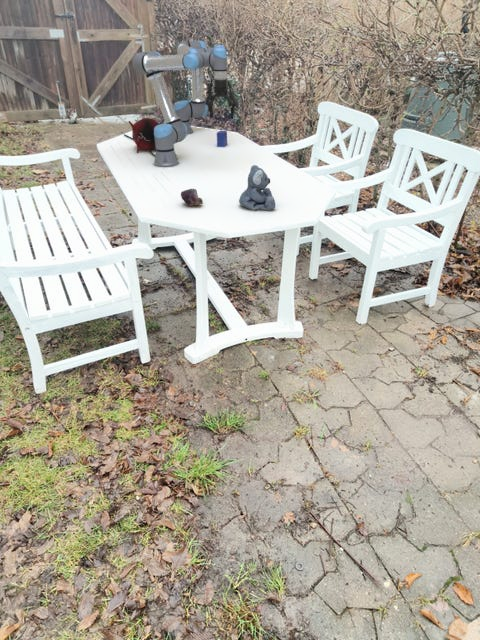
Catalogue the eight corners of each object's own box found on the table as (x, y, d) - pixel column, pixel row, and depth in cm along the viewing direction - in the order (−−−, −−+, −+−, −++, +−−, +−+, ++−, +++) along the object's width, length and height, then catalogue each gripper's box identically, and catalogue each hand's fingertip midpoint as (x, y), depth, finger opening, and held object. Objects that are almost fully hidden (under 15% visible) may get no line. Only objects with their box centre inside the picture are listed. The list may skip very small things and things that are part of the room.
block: (223, 147, 330) (223, 133, 324) (217, 146, 331) (216, 132, 326) (227, 144, 336) (226, 131, 330) (220, 144, 337) (220, 130, 331)
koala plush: (276, 211, 223) (277, 171, 212) (240, 212, 222) (240, 172, 211) (271, 199, 237) (272, 161, 226) (237, 200, 236) (237, 162, 225)
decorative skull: (132, 124, 330) (125, 120, 306) (163, 117, 329) (158, 113, 306) (140, 154, 337) (134, 153, 313) (170, 147, 336) (166, 145, 312)
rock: (196, 202, 238) (178, 205, 233) (194, 185, 234) (176, 188, 230) (205, 205, 228) (187, 208, 224) (203, 188, 224) (185, 191, 220)
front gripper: (242, 79, 263) (242, 118, 275) (203, 77, 270) (205, 115, 282) (238, 80, 257) (239, 120, 269) (198, 79, 264) (200, 118, 276)
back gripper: (239, 72, 306) (239, 106, 318) (205, 70, 312) (206, 104, 325) (235, 73, 300) (235, 107, 312) (201, 72, 307) (202, 105, 319)
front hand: (221, 118), depth 276 cm, fingers open, 13 cm apart
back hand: (221, 106), depth 318 cm, fingers open, 13 cm apart
